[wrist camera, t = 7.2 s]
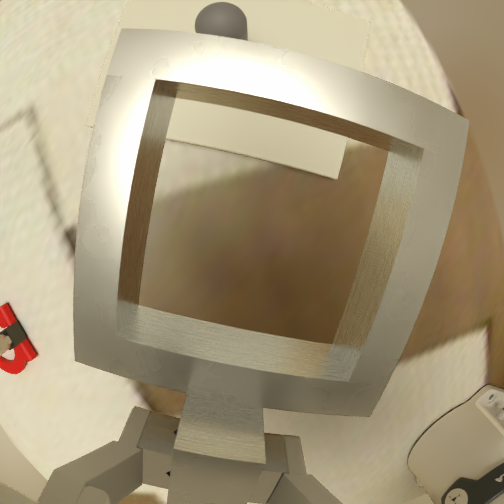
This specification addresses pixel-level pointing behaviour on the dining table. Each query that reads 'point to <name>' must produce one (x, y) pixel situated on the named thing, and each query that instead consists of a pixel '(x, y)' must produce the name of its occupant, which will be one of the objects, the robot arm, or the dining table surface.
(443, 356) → the dining table surface
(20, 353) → the tow hook
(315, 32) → the board
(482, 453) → the robot arm
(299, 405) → the steel link
